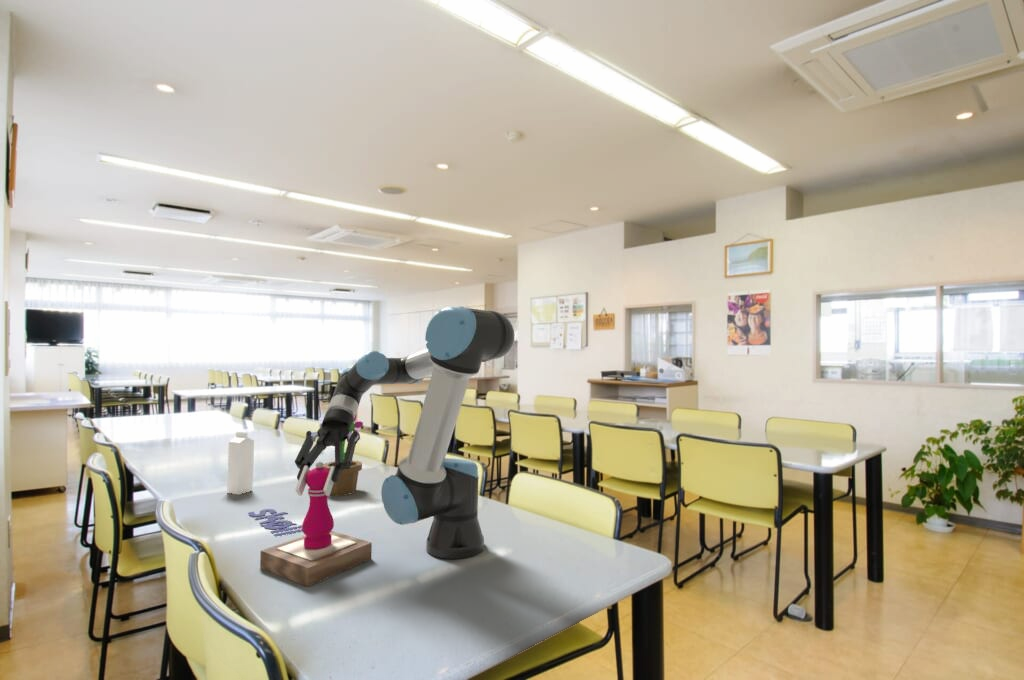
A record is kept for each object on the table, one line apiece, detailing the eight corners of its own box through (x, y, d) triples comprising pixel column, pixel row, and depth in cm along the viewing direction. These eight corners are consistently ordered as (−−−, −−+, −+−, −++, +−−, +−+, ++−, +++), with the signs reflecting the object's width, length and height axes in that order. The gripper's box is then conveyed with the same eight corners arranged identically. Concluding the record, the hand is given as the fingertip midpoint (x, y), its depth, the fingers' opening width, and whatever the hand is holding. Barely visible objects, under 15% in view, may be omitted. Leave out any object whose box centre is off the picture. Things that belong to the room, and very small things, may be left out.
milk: (241, 489, 187) (243, 430, 188) (252, 491, 185) (254, 431, 186) (226, 493, 181) (228, 432, 183) (237, 495, 179) (240, 433, 180)
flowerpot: (370, 490, 187) (371, 410, 188) (339, 499, 175) (341, 414, 176) (344, 485, 194) (345, 408, 195) (312, 493, 182) (314, 411, 183)
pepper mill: (337, 538, 124) (339, 458, 125) (327, 549, 117) (329, 464, 117) (308, 538, 124) (310, 458, 124) (296, 549, 116) (298, 464, 117)
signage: (245, 512, 158) (278, 506, 164) (245, 514, 158) (278, 508, 164) (274, 536, 137) (311, 528, 144) (274, 538, 137) (311, 530, 144)
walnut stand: (371, 558, 123) (371, 541, 123) (307, 586, 108) (308, 566, 108) (324, 544, 132) (325, 527, 132) (260, 567, 117) (260, 549, 117)
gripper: (377, 424, 136) (355, 501, 119) (310, 423, 137) (278, 500, 120) (371, 407, 131) (347, 484, 114) (301, 406, 132) (267, 483, 115)
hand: (312, 492), depth 117 cm, fingers closed on pepper mill, 6 cm apart
